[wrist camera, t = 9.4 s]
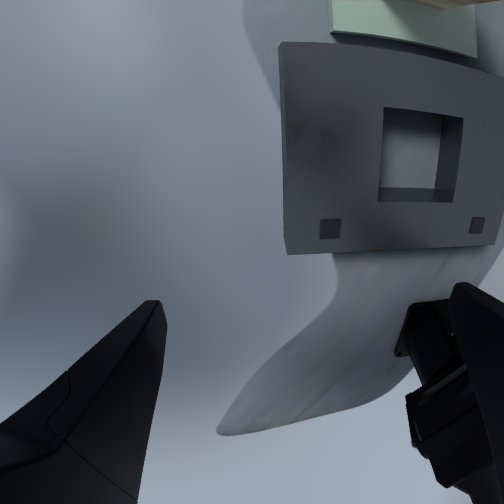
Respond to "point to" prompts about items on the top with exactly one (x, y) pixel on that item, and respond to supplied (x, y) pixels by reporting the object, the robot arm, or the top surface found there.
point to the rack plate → (370, 147)
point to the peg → (448, 3)
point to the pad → (407, 23)
